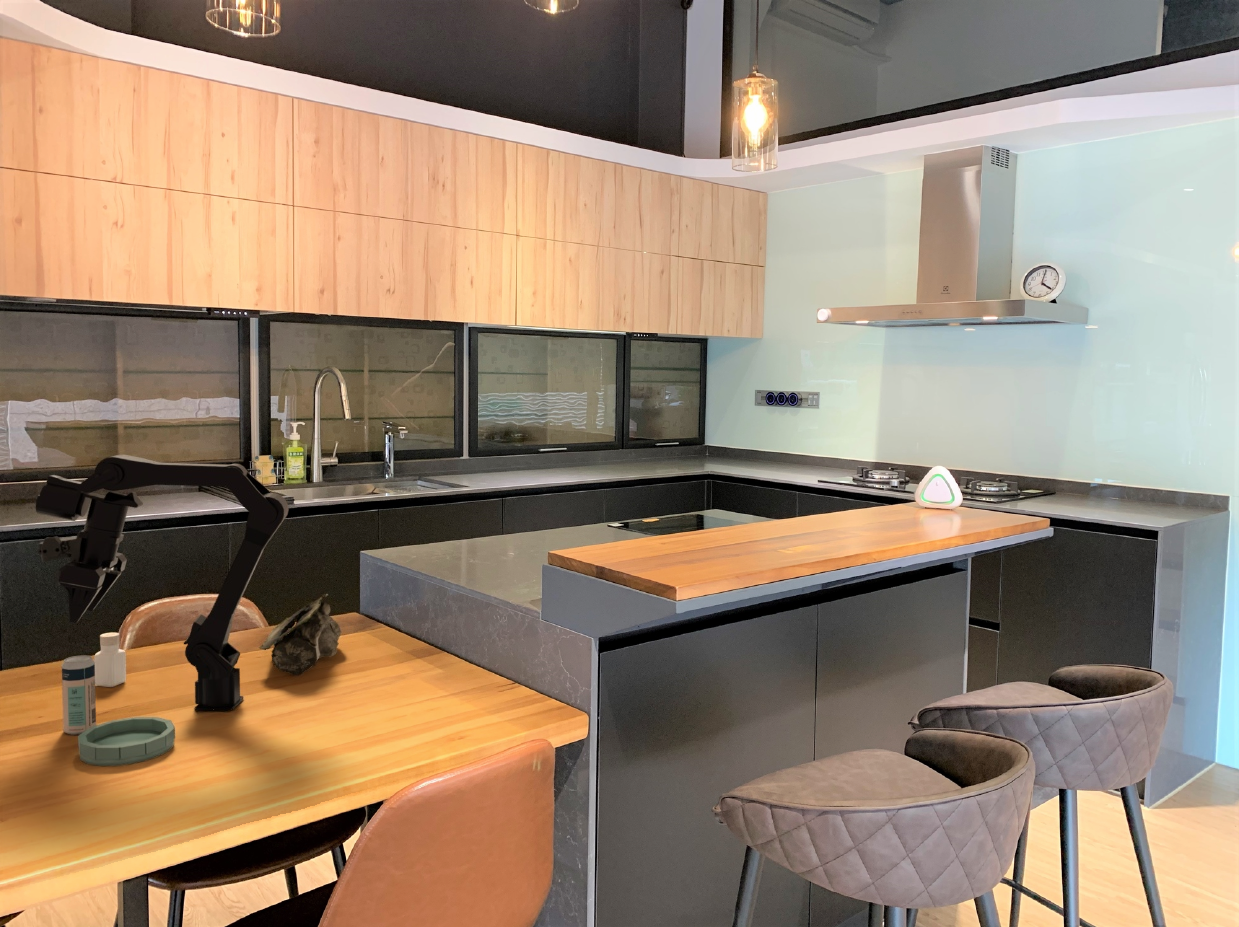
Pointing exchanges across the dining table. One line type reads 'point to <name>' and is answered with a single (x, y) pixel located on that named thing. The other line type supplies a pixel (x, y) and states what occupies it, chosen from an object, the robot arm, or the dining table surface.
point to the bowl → (126, 741)
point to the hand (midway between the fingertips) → (81, 616)
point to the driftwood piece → (304, 638)
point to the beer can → (78, 694)
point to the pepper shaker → (110, 661)
